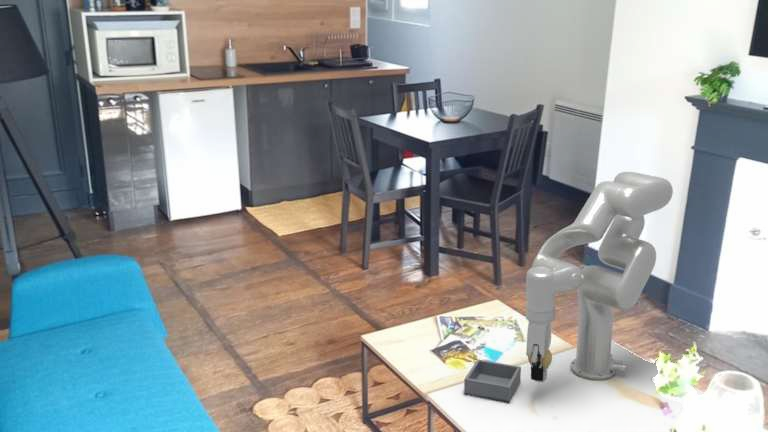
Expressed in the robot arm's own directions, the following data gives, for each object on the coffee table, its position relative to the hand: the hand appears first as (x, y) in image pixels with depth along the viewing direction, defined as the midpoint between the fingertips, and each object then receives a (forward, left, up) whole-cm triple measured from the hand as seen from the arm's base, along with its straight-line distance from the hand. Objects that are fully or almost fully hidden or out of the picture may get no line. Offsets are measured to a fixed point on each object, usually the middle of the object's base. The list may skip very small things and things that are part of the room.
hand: (539, 373), depth 197 cm
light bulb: (0, 0, -2) cm, 2 cm away
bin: (+13, +2, -6) cm, 14 cm away
